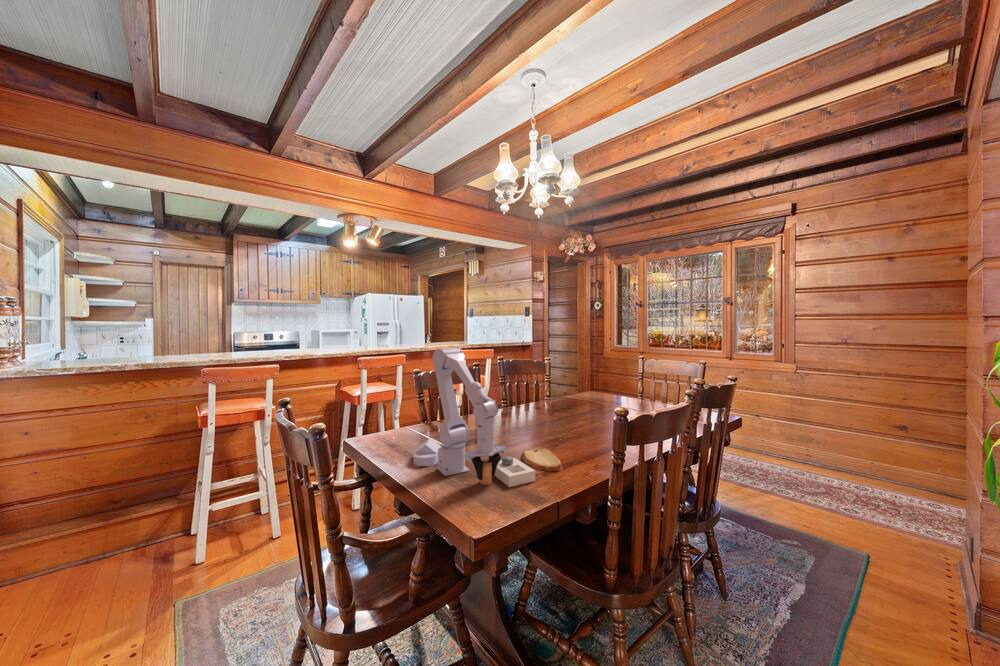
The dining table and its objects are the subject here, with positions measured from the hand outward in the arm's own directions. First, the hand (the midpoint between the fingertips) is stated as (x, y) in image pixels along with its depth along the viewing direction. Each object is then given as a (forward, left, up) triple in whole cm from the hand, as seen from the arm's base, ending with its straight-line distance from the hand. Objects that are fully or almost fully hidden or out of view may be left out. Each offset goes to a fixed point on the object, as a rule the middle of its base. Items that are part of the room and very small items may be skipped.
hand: (485, 477), depth 128 cm
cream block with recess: (+10, 0, -2) cm, 10 cm away
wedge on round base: (-11, +29, -2) cm, 31 cm away
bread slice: (+28, +7, -2) cm, 29 cm away
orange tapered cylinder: (0, 0, -2) cm, 2 cm away
